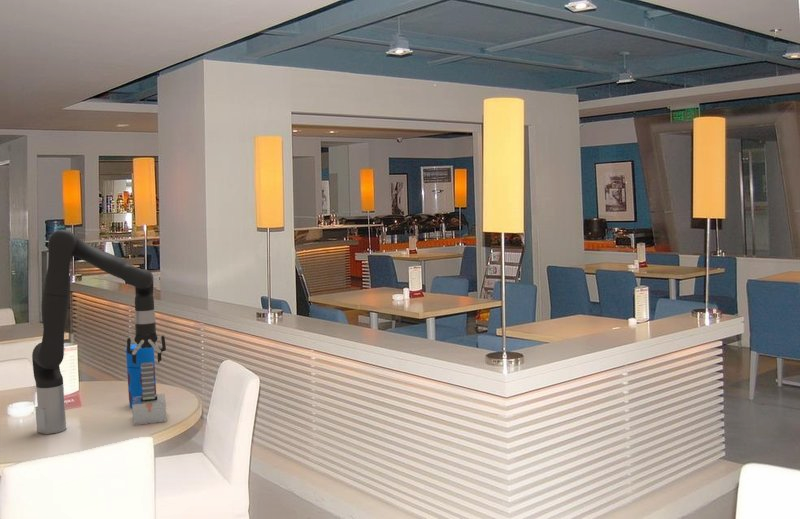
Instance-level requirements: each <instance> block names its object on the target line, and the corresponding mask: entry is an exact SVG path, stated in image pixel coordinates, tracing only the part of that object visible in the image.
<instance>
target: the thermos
mask: <svg viewBox="0 0 800 519" xmlns="http://www.w3.org/2000/svg"><path fill="white" fill-rule="evenodd" d="M136 346H137V343H134V344H133V343H132V344H131V347H130V350H132V351H133V350H134V348H135V347H136ZM125 356H126V358H125V359H126V372H127V373H126V374H127V390H128V404H129V408H130V409H132V410H133V408H132V402H133V397H135V396H143V394H142V390H143V389H142V385H143V384H142V378H141V376H142V374H141V370H142V369H141V365H142V363H148V362H152V364H153V370H154V373H153V374H154V378H153V379H154V389H155V393H154V394H157V383H156V381H157V380H156V367H155V366H156V364H155V363H156V362H155V349H154V348H153V346H152V347H151V348H147V347H146V348H141V347H140V348H139V350H138V351H137V352H136V362H137V364H135V363H133V361H132V354H128V353H127V346H125Z"/></svg>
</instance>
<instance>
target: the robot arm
mask: <svg viewBox="0 0 800 519" xmlns="http://www.w3.org/2000/svg"><path fill="white" fill-rule="evenodd" d="M72 258H77V259H80V260H82V261H84V262H86V263H88V264H90V265H92V266H94V267H96V268H97V269H99V270H101V271H103V272H105V273H106V274H109V275H111V276H113V277H115V278H118V279H120V280H123V281H124V282H126V283H128V284H129V285H131V286H133V287H134V288H135V297H134V331H135V337H130V336H128V337H127V338H126V339H127V340H126V347H127V353H128V354H132V361H133V363H135V364H137V362H136V352H137V351H138V350H139V348H140V347H141V348H146V347H147V348H151V347H152V346H153V348H154V350H155V351H156V353H157V363H158V364H159V363H160V362H161V361H162V353H163V352H165V351H167V348H166V347H167V346H166V339H165V338H166V336H165V335H164V334H161V335H157V328H156V327H157V326H156V325H157V324H156V323H157V322H156V320H157V319H156V312H155V299H154V275H153V273H152V271H150V270H148V269H147V268H144V269H143V268H142V269H141V268H140V267H137V266H135V265H132V264H131V263H130V261H129V262H128V261H127V260H125V259H122V258H120V257H119V256H117V255H114V254H111V253H110V252H107V251H104V250H102V249H99V248H97V247H95V246H93V245H91V244H89V243H87V242H85V241H84V240H82V239H81V238H80V237H78V236H77V235H75V234H74V233H73V232H71V231H69V230H66V229H58V230H55V231H53V232H52V233H51V235H50V236H49V238H48V263H47V270H46V274H45V280H44V285H43V289H42V298H41V307H40V308H41V319H42V328H43V331H42V338H41V342H40V343H38V344H36V345H35V346H34V348H33V350H32V354H31V355H32V356H31V357H32V359H31V360H32V361H31V362H32V369H33V377H34V380H35V387H36V388H35V389H36V402H37V406H35V407H34V408H35V420H36V421H35V423H36V432H37V433H39V434H43V435H51V434H57V433H61V432H63V431H64V432H65V431H66V430H67V419H66V406H65V405H66V404H65V389H64V377H63V375H62V372H61V369H60V368H61V367H60V365H61V364H62V362H63V360H64V357H65V356H64V355H65V329H66V324H67V319H68V317H67V316H68V310H69V304H70V297H71V278H70V266H71V262H72ZM158 340H159V342H161V347H159V346H158V344H157V341H158ZM133 342H135V344H137V346H136V347H135V348H134V350H133V351H132V350H130V347H131V345H132V344H133Z"/></svg>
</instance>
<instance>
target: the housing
mask: <svg viewBox="0 0 800 519" xmlns="http://www.w3.org/2000/svg"><path fill="white" fill-rule="evenodd" d="M166 406H167V405H166V394H165V393H158V394H157V393H156V394H155V399H154V401H143V396H135V397H133V402H132V408H133V409H132V408H131V409H132V423H133V424H132V425H133V426H139V425H147V424H148V423H150V424H156V422H159V423H165V421H167V407H166Z"/></svg>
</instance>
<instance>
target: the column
mask: <svg viewBox="0 0 800 519" xmlns="http://www.w3.org/2000/svg"><path fill="white" fill-rule="evenodd" d="M141 369H142V370H141V374H142V376H141V378H142V384H143V385H142V389H143V390H142V394H143V401H154V399H155V394H154V393H155V389H154V379H153V378H154V374H153V373H154V370H153V364H152V362H148V363H142V365H141Z"/></svg>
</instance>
